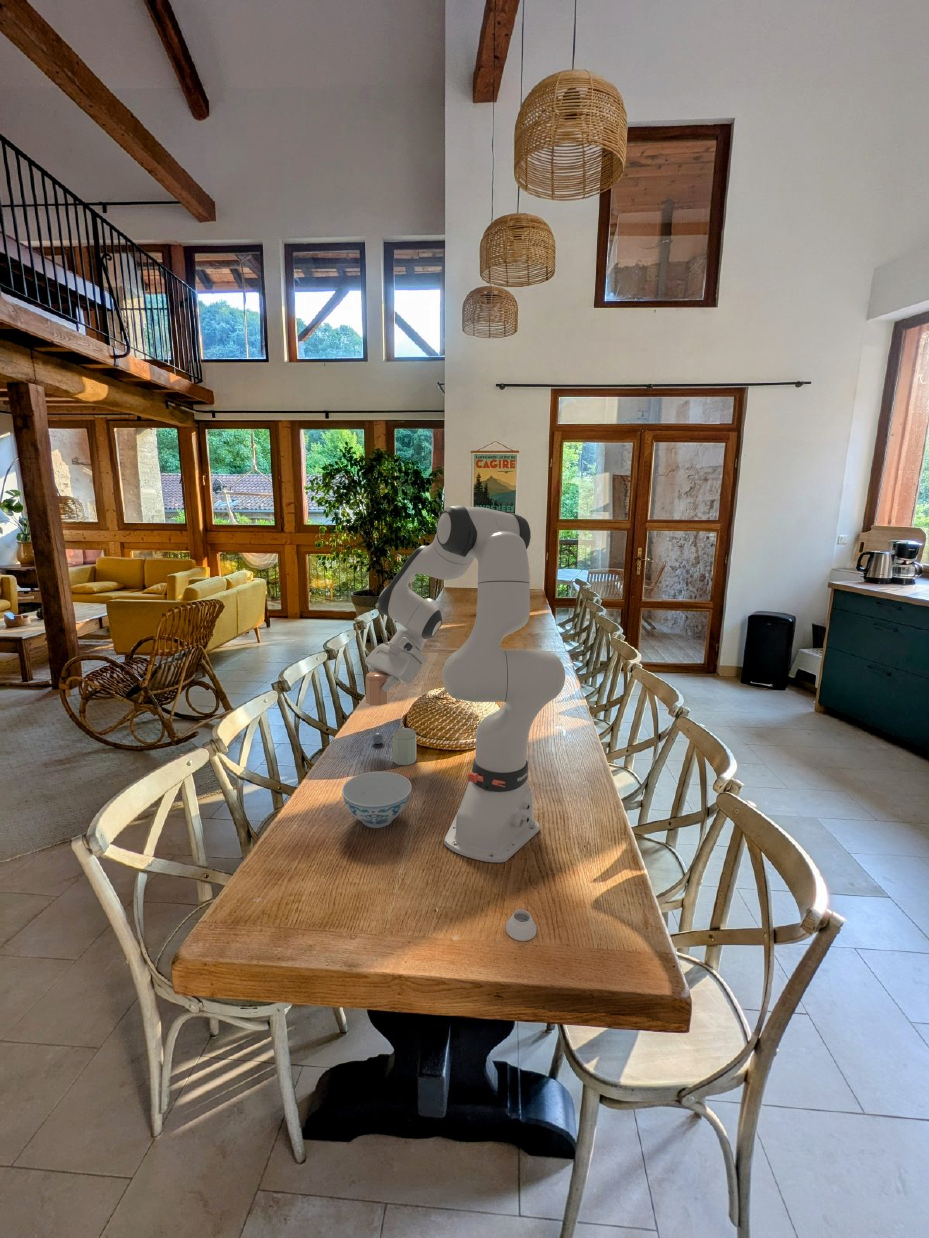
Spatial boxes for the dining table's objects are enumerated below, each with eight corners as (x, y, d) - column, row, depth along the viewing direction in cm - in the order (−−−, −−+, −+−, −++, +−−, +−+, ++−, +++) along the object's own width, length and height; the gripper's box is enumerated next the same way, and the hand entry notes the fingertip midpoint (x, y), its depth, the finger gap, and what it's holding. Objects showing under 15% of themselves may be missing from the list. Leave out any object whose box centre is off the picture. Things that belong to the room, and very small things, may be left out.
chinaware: (393, 845, 116) (393, 811, 114) (329, 830, 120) (328, 797, 119) (422, 808, 129) (422, 777, 128) (364, 796, 134) (363, 766, 132)
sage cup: (420, 760, 153) (420, 733, 151) (401, 767, 149) (401, 738, 147) (407, 753, 157) (407, 726, 156) (389, 759, 153) (389, 731, 152)
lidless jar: (507, 918, 96) (504, 940, 92) (508, 903, 96) (505, 924, 91) (536, 922, 96) (535, 945, 91) (537, 907, 95) (536, 929, 90)
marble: (379, 746, 161) (379, 736, 160) (370, 744, 162) (370, 734, 162) (385, 742, 164) (385, 732, 163) (376, 740, 165) (376, 730, 165)
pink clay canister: (392, 702, 160) (391, 675, 159) (373, 707, 156) (373, 679, 155) (380, 696, 165) (380, 670, 163) (362, 700, 161) (362, 674, 159)
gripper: (377, 634, 169) (349, 671, 165) (418, 649, 154) (388, 690, 150) (390, 646, 173) (363, 683, 169) (431, 661, 158) (402, 702, 154)
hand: (375, 686), depth 159 cm, fingers closed on pink clay canister, 6 cm apart
